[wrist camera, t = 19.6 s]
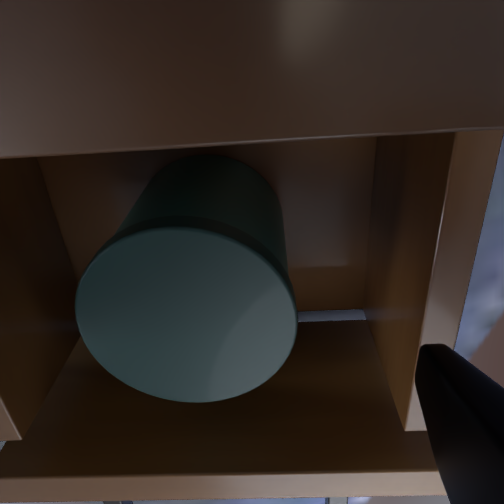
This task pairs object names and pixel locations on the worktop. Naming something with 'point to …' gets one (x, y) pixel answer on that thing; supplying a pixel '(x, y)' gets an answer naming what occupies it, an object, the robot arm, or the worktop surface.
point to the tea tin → (193, 286)
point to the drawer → (306, 343)
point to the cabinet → (243, 72)
